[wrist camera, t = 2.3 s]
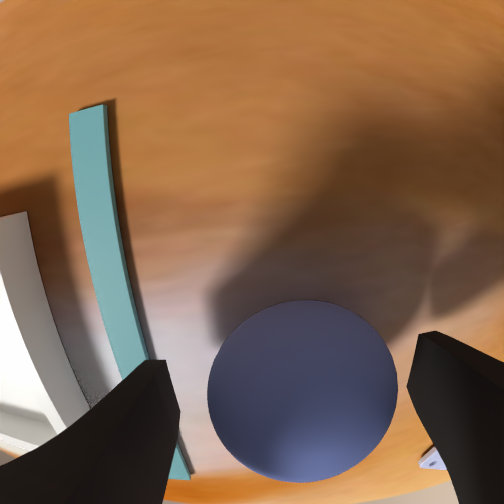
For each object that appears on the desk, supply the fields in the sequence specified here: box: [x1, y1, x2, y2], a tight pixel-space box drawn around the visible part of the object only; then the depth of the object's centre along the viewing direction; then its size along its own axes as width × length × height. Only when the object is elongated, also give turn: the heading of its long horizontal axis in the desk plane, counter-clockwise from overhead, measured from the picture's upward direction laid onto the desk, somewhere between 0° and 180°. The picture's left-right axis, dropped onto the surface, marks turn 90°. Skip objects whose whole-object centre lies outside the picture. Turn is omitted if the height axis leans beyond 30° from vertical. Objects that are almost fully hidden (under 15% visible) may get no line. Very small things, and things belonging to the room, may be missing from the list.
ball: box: [207, 300, 398, 483], centre depth 8 cm, size 5×5×5 cm
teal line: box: [69, 105, 191, 480], centre depth 10 cm, size 16×1×1 cm, turn 4°
